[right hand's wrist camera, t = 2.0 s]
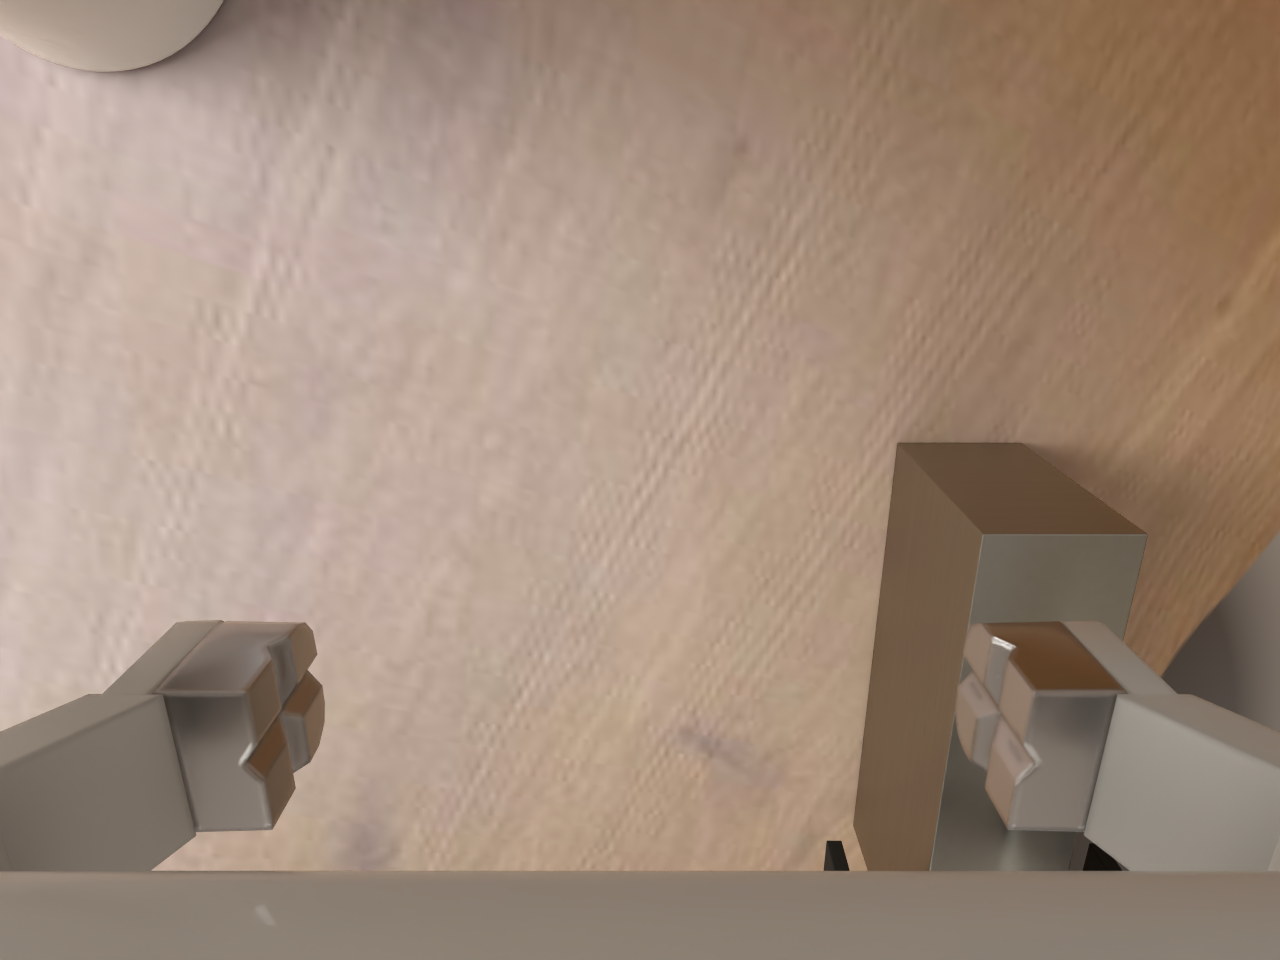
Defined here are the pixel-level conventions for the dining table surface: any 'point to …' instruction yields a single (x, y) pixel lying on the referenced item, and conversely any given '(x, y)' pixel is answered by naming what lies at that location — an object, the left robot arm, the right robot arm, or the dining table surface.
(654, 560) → the dining table surface
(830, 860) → the left robot arm
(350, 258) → the dining table surface
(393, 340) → the dining table surface
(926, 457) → the box
